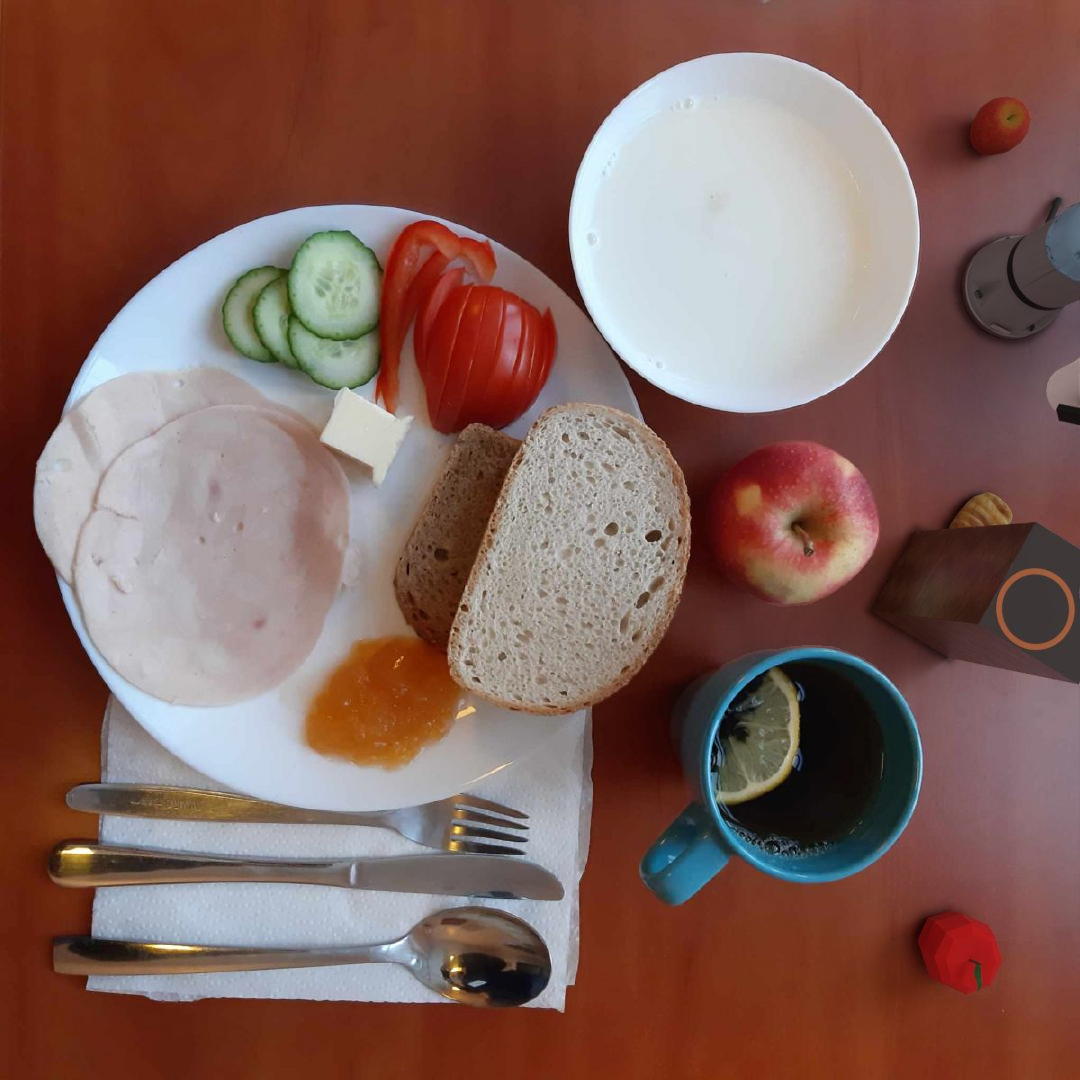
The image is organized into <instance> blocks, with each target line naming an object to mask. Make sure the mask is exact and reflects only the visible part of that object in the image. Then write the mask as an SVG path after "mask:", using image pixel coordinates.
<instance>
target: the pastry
mask: <svg viewBox="0 0 1080 1080" xmlns="http://www.w3.org/2000/svg"><path fill="white" fill-rule="evenodd" d="M1012 519H1013V512H1012V511H1011V509H1010V507H1009V506H1008V503H1006V502H1005V501H1004V500H1002V499H1001V498H1000V497H999V496H998V495H996V494H994V493H991V492H988V491H986V492H983V493H981V494H977V495H974V496H973V497H971V498H970V499H969V500H968V501H967V502H966V503H965V504H964V506H963V507H961V509H960V510H959V511H958V513H957V514H956V516H955V517H954V518H953V520H952V521H951V523H950V524H949V526H948V529H950V528H964V527H977V526H990V525H1003V524H1012V523H1011V522H1012Z"/></svg>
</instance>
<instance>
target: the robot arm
mask: <svg viewBox="0 0 1080 1080" xmlns="http://www.w3.org/2000/svg"><path fill="white" fill-rule="evenodd" d="M1062 201H1063V198H1061V196H1059V197H1055V198H1054V201H1053V203H1052V205H1051V207H1050V210H1049V212H1048V214H1047V217H1046V218H1045V221H1044V223H1043V224H1042V225H1040V226H1039V227H1037V228H1035V229H1034V230H1032V231H1030V232H1029V233H1027V234H1023V235H1008V236H1004V237H1001V238H997V239H995V240H993V241H991V242H989V243H987V244H986V245H984V246H983V247H981V248H980V249H979V250H977V251H976V252H975V253H974V254H973V256H971V258H970V259H969V261H968V262H967V264H966V266H965V268H964V271H963V274H962V278H961V287H960V288H961V298H962V302H963V306H964V308H965V310H966V313H967V314H968V316H969V317H970V318H971V320H972V321H973V322H974V324H975V325H976V326H978V328H980V329H981V330H983V331H984V332H986V333H987V334H989V335H992V336H994V337H996V338H1000V339H1006V340H1015V339H1022V338H1025V337H1028V336H1031V335H1033V334H1036V333H1038V332H1040V331H1041V330H1043V329H1044V328H1045V327H1047V326H1048V325H1050V323H1052V322H1053V321H1054V320H1055V318H1056V317H1057V316H1058V315H1059V314H1060V313H1061V312H1062V310H1063V309H1064V308H1065V307H1067V306H1068V305H1072V304H1074V303H1076V302H1078V301H1080V201H1078V202H1077V203H1074V204H1072V205H1070V206H1069V207H1067V208H1066V209H1064V210H1063V211H1061V212H1060V213H1059V214H1057V212H1058V210H1059V208H1060V206H1061V204H1062ZM1055 412H1056V416H1057V418H1058V422H1062V423H1067V424H1071V425H1076V426H1080V408H1079V407H1074V406H1069V405H1064V404H1058V406H1057V408H1056V411H1055Z"/></svg>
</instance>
